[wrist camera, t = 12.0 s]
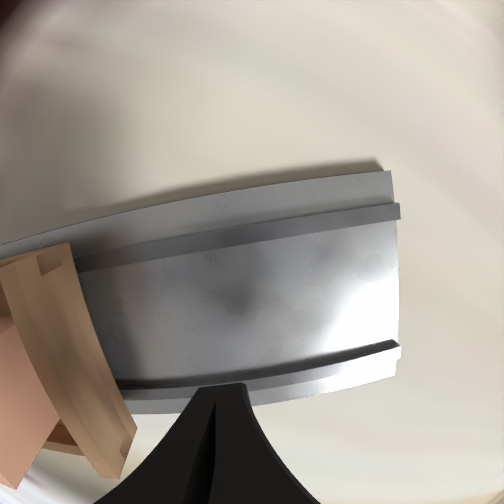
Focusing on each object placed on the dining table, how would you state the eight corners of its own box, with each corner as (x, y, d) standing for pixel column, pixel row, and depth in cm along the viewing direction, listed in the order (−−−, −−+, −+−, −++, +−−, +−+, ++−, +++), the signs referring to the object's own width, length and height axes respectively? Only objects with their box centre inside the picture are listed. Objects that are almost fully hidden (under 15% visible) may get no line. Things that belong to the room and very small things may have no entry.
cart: (143, 412, 12) (119, 479, 8) (22, 404, 12) (-12, 447, 8) (83, 236, 10) (15, 264, 6) (-33, 267, 10) (-88, 292, 6)
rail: (390, 368, 13) (405, 388, 11) (1, 396, 13) (-12, 410, 11) (385, 170, 11) (406, 170, 9) (-52, 263, 11) (-70, 270, 9)
